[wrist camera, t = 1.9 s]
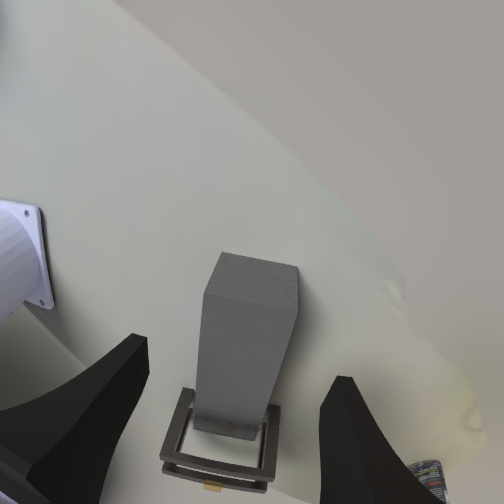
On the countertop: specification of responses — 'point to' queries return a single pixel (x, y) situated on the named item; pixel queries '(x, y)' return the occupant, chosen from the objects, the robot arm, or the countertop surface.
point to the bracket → (172, 456)
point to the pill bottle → (431, 478)
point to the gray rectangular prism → (242, 342)
